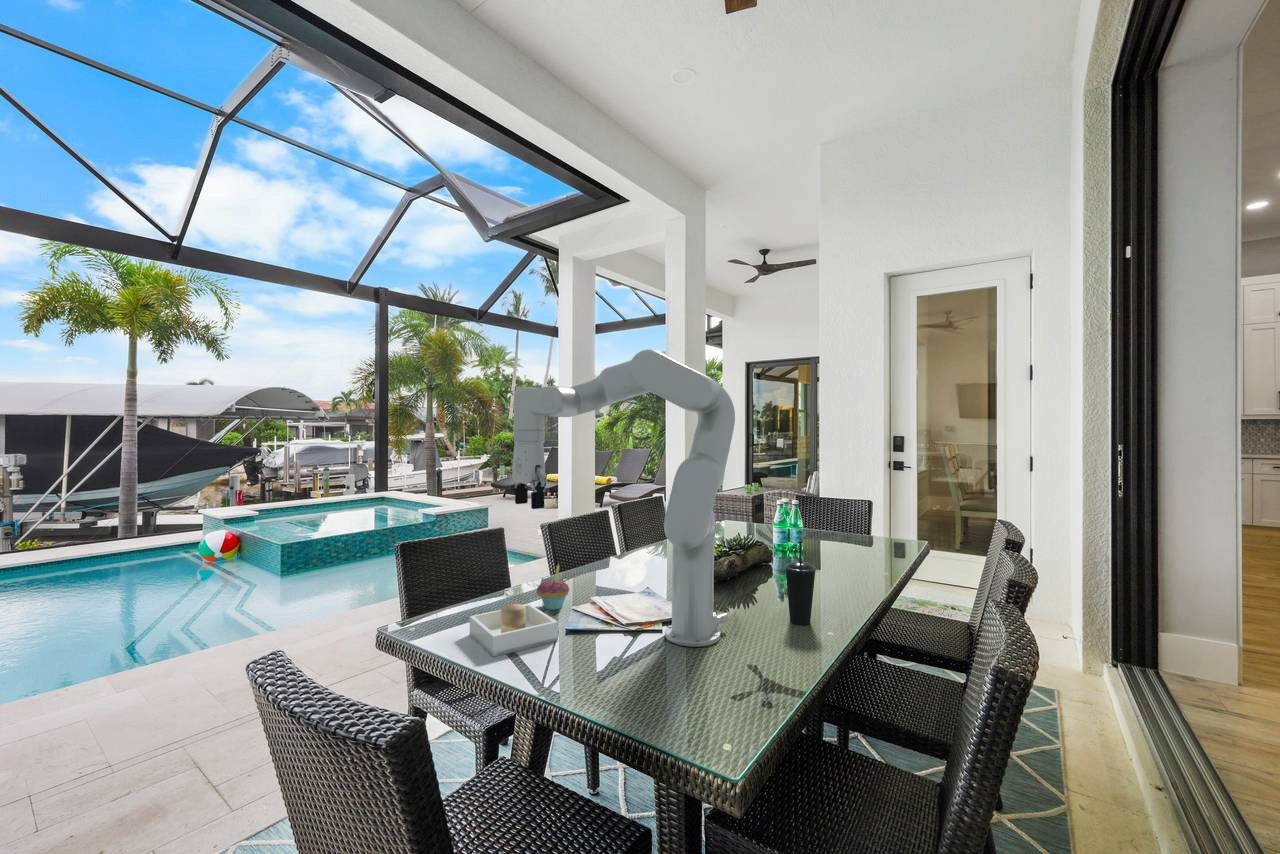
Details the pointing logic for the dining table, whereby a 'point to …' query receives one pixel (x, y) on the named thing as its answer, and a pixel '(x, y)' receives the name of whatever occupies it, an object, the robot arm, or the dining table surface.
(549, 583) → the cupcake
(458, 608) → the dining table surface
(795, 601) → the drinking cup
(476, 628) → the serving dish
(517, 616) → the beige cylinder
